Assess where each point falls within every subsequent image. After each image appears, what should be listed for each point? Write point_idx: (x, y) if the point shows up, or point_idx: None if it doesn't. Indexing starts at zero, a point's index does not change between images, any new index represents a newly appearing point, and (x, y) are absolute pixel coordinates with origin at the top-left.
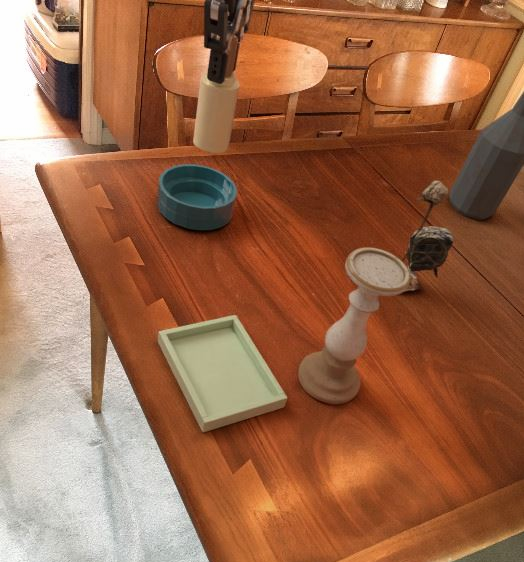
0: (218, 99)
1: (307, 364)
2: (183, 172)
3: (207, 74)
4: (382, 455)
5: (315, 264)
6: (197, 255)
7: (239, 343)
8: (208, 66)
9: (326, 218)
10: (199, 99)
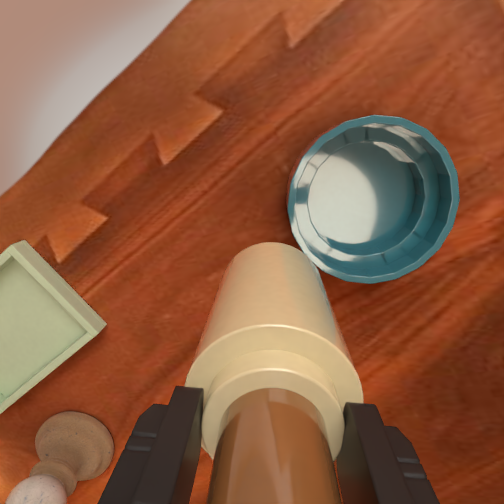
0: None
1: (67, 427)
2: (430, 151)
3: (173, 394)
4: None
5: None
6: (229, 237)
7: (70, 341)
8: (162, 421)
9: (435, 412)
10: (229, 301)
